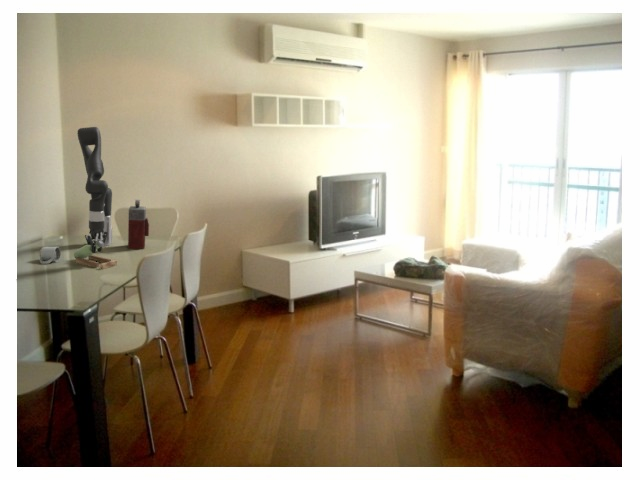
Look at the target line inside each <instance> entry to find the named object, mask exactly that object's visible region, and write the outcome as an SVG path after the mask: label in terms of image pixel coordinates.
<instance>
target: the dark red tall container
mask: <svg viewBox="0 0 640 480" xmlns="http://www.w3.org/2000/svg"><path fill="white" fill-rule="evenodd" d="M140 201H141V200H140V199H135V203H134V205H130V206H129V208H128V229H127V230H128V231H127V232H128V233H127V234H128V236H127V239H128V240H127V242H128V243H127V245H128V246H127V249H131V250H144V249H145V248H146V237H149V236H150V220H149V218H148V217H147V208H146V206H140V204H141V203H140Z"/></svg>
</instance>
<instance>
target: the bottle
mask: <svg viewBox="0 0 640 480" xmlns="http://www.w3.org/2000/svg"><path fill="white" fill-rule="evenodd" d="M100 247H102V248H103V247H105V246H104V243H103V241H101V240H100V241H98V242H97V243H96V252H98V251H97V249H98V248H100ZM94 254H95V253H92V251H91V245H88V243H87V244H86V245H84V246H82V247H80V248H78V249H76V250H75V251H74V252H73V257H74V259H76V258H82V259H86V258H89V256H90V255H94Z"/></svg>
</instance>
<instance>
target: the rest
mask: <svg viewBox="0 0 640 480" xmlns="http://www.w3.org/2000/svg"><path fill="white" fill-rule="evenodd" d="M96 261H97V262H96ZM100 262H101V263H100ZM78 263H79V265H83V266H87V265H88V266H87V267H91V266H94V267H93V268H95V267H98V268H99V267H100V268H101V269H100V268H99V269H100V270H105V268H106V269H110V268H113V267H115V266H116V267H117V266H118V260H116V259H114V260H112V259H111V258H106V257H103V256H98V255H94V254H92V255H90V256H88V259H86V258H84V259H82V258H75V264H78Z"/></svg>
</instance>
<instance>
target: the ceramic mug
mask: <svg viewBox="0 0 640 480" xmlns="http://www.w3.org/2000/svg"><path fill="white" fill-rule="evenodd" d="M61 254H62V253H61V249H60V247H59V246H43V247H42V248H40V250H39V262H40V263H41V264H42V265H47V264H51V262H53V263H54V262H55V263H57V262H59V261H60V259H61V257H62V256H61Z"/></svg>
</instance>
